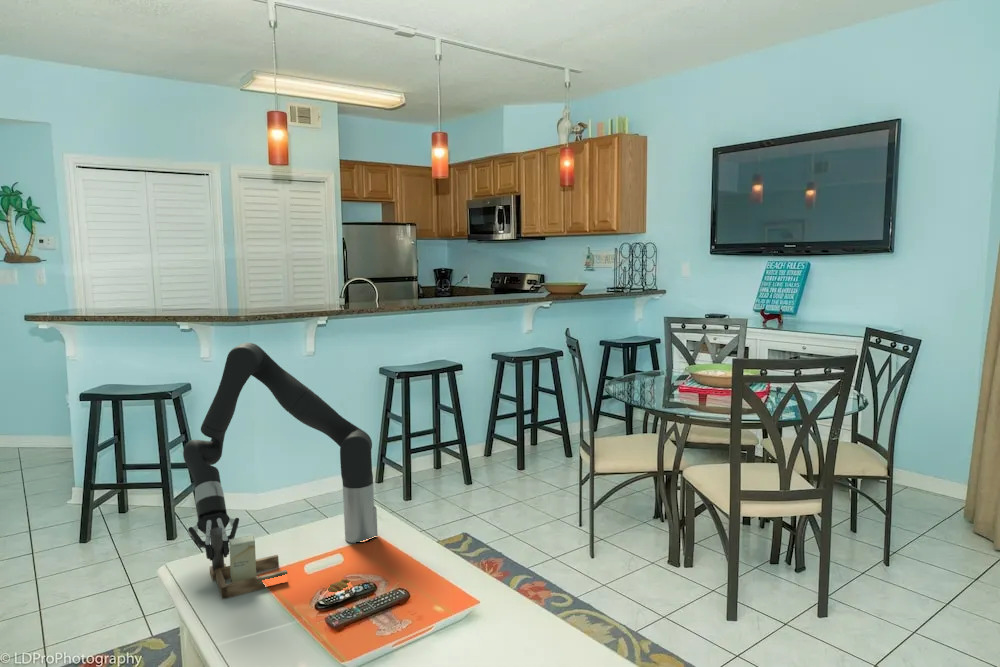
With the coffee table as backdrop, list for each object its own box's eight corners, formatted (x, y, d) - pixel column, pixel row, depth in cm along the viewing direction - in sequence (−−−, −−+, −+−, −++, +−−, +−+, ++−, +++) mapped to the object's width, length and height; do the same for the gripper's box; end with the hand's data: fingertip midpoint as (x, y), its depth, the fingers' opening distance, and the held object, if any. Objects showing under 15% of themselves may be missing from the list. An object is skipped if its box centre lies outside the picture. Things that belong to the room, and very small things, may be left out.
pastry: (328, 611, 158) (328, 596, 158) (311, 603, 162) (310, 589, 162) (358, 595, 165) (357, 581, 165) (340, 588, 169) (340, 574, 169)
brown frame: (273, 557, 188) (271, 515, 187) (288, 582, 173) (285, 537, 171) (209, 571, 180) (207, 528, 179) (219, 599, 164) (215, 552, 163)
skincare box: (232, 590, 169) (229, 545, 168) (230, 583, 173) (228, 539, 172) (257, 584, 172) (255, 540, 171) (255, 577, 176) (253, 534, 175)
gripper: (183, 499, 180) (190, 558, 171) (237, 490, 187) (247, 545, 178) (182, 512, 185) (190, 569, 176) (235, 502, 192) (244, 557, 183)
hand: (218, 557), depth 177 cm, fingers closed on brown frame, 3 cm apart
